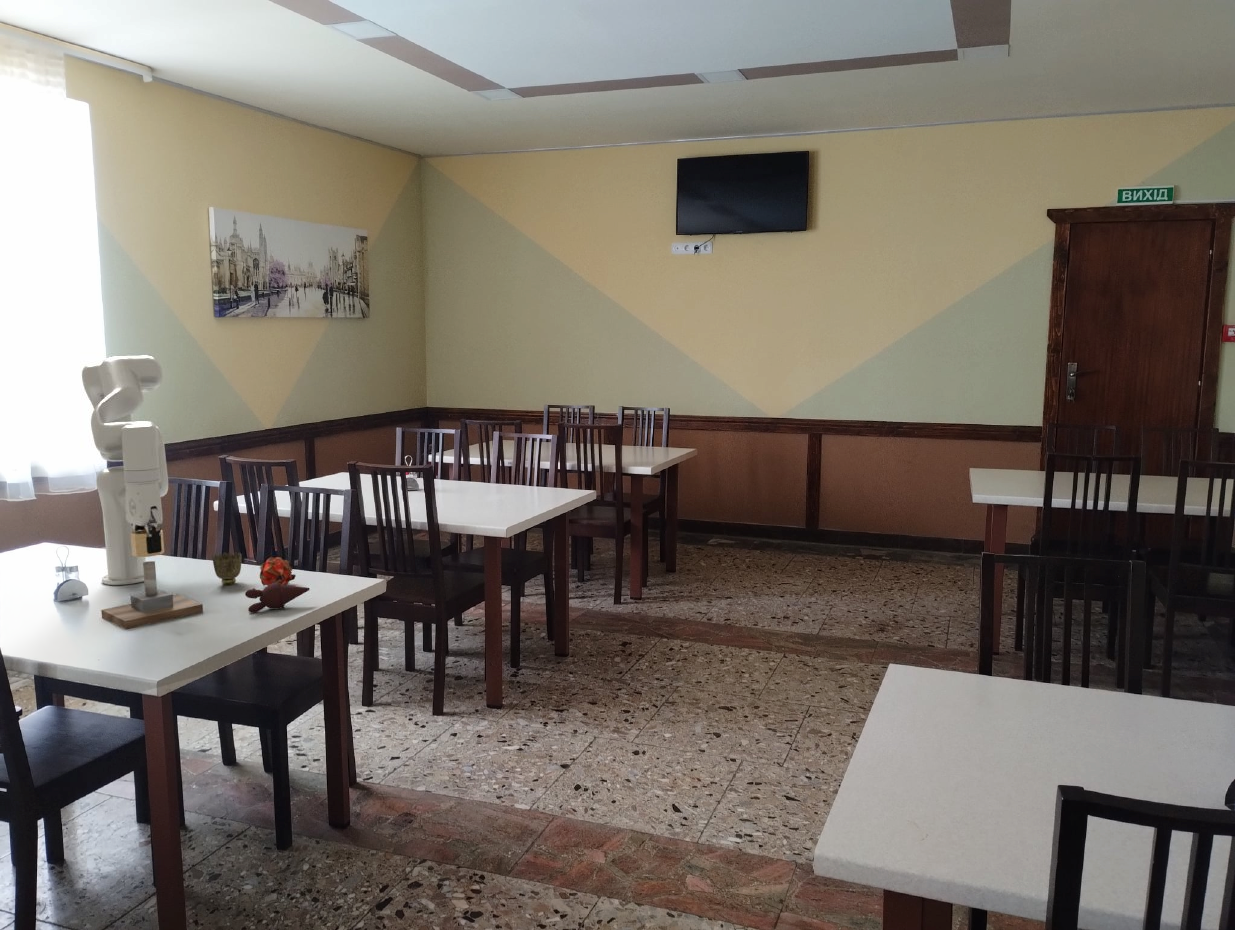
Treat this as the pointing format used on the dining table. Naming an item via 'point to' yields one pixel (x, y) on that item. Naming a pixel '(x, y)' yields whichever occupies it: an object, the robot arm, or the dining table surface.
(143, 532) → the hub
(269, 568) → the dragon fruit
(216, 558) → the cup
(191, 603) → the shaft stand
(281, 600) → the icecream
